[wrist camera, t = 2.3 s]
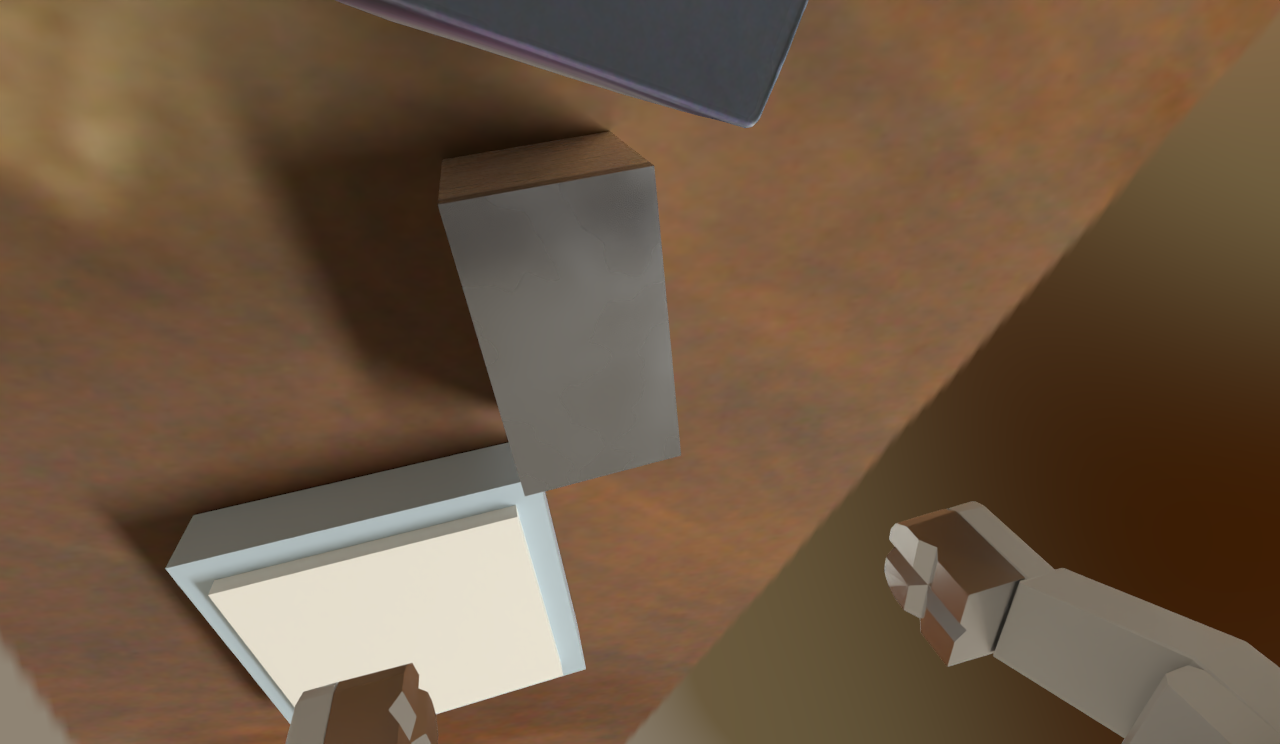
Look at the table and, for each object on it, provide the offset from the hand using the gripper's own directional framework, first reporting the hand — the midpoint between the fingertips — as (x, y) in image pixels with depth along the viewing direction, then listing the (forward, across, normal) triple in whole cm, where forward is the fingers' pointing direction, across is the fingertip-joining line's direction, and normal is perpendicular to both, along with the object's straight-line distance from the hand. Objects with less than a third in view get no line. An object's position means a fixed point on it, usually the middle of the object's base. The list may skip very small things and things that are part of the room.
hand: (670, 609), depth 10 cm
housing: (+13, 0, -1) cm, 13 cm away
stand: (+13, +8, +11) cm, 19 cm away
